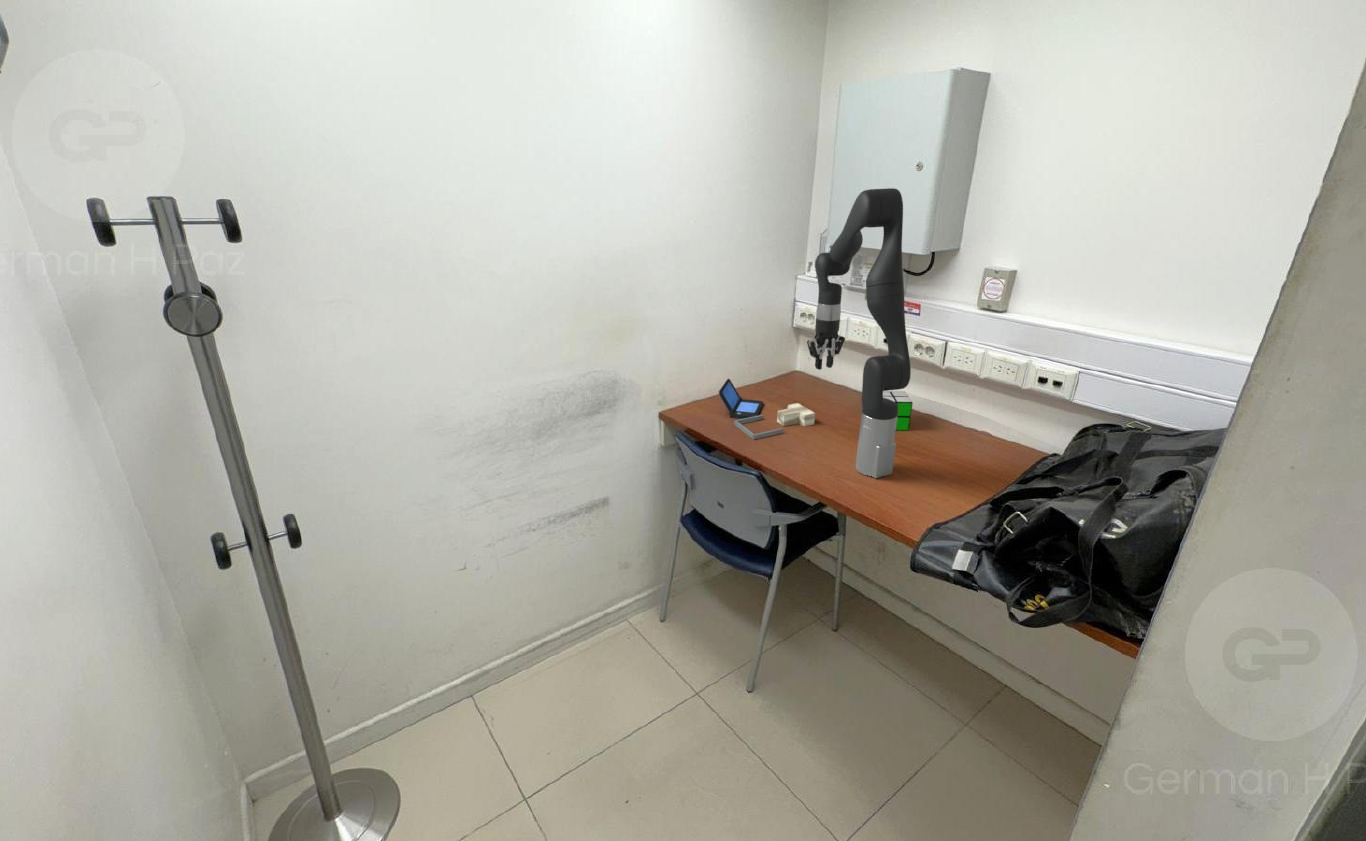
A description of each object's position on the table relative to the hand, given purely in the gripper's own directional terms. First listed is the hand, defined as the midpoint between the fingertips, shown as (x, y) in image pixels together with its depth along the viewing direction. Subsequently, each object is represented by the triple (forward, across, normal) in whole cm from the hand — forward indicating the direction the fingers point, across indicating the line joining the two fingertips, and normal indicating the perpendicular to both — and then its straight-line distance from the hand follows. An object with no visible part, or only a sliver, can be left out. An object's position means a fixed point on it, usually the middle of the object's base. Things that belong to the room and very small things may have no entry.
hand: (823, 367), depth 193 cm
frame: (+17, -24, 0) cm, 30 cm away
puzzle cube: (+17, +16, -16) cm, 29 cm away
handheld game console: (+18, -22, +16) cm, 32 cm away
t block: (+17, -11, 0) cm, 20 cm away
